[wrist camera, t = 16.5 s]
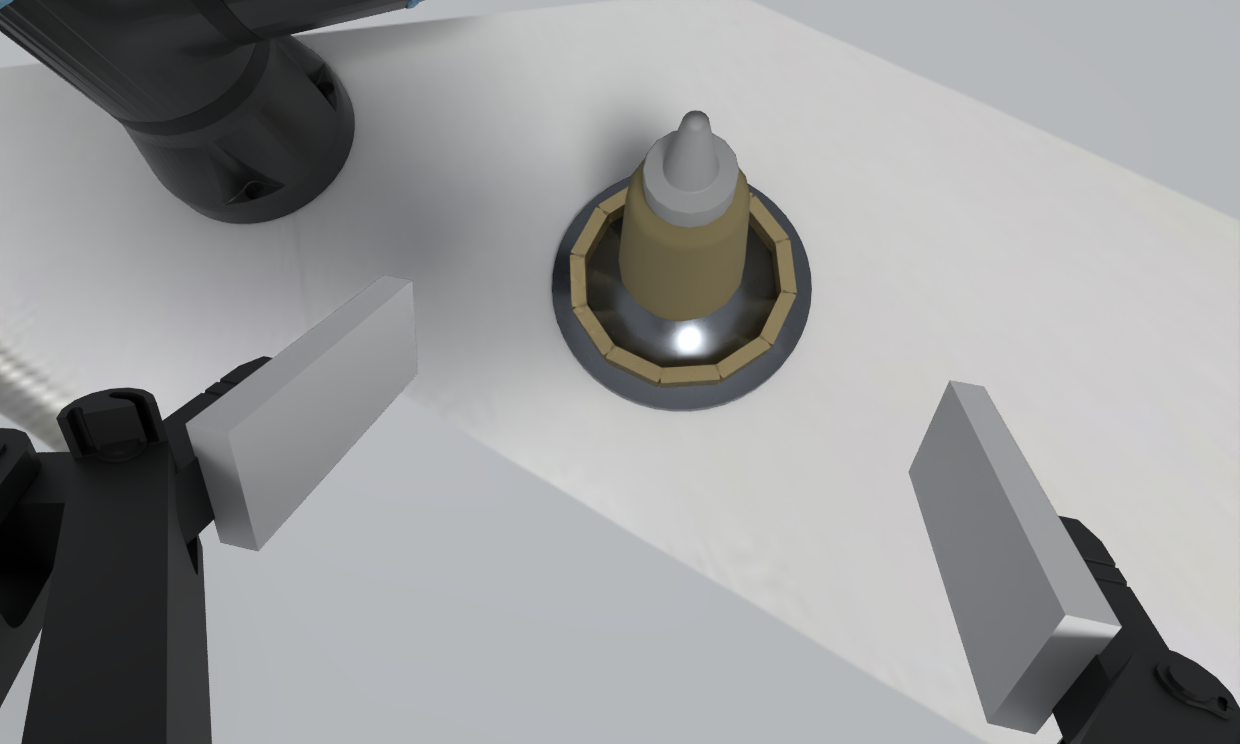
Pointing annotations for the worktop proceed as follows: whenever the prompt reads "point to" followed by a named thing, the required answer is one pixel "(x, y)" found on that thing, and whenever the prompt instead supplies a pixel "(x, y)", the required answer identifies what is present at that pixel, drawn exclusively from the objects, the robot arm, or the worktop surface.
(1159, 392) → the worktop surface
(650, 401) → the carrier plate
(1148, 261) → the worktop surface
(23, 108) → the worktop surface
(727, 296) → the squeeze bottle
